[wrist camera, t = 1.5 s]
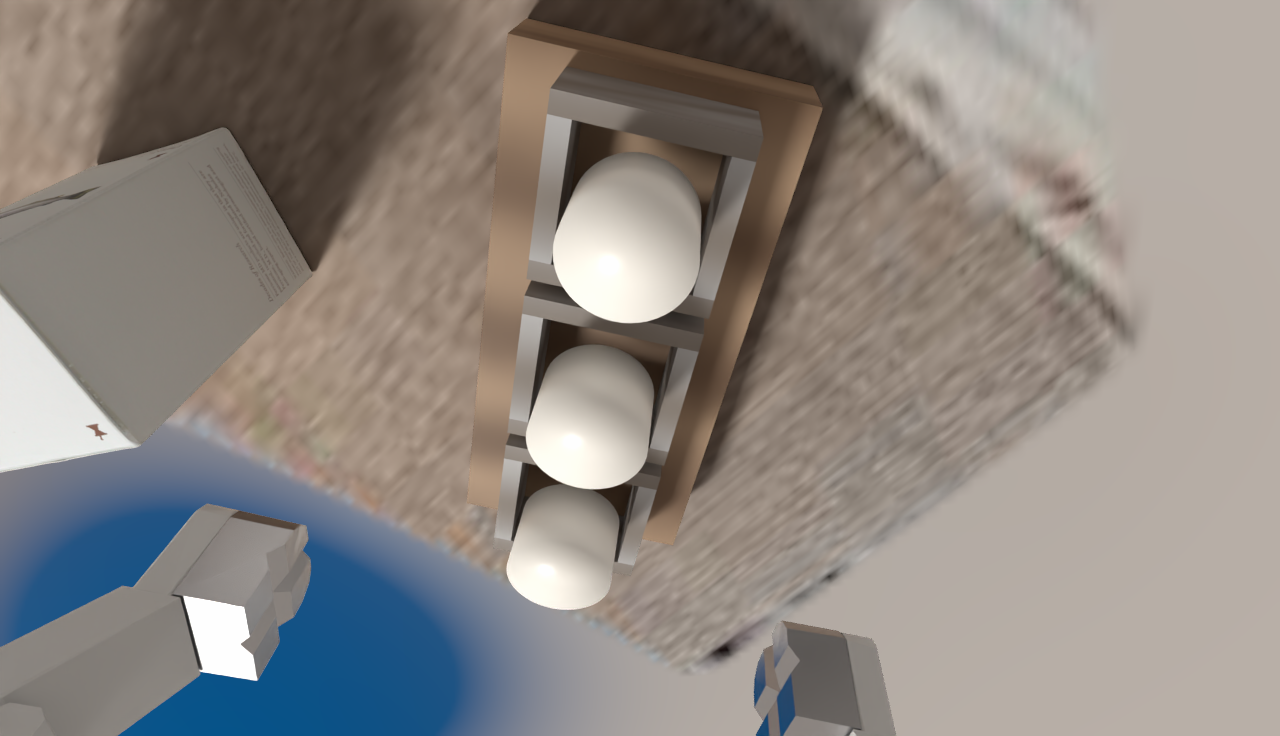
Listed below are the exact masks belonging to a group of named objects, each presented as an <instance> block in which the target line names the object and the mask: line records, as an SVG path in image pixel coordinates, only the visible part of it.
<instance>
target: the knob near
mask: <svg viewBox="0 0 1280 736" xmlns="http://www.w3.org/2000/svg"><path fill="white" fill-rule="evenodd" d="M700 243H701V206H700V202H699V198H698V195H697V193H696V190H695V189H694V187H693V185H692V183H691V182H690V180H689V179H688V178H687V176H686V175H685V174H684V173H683V172H682V171H681V170H680V169H679V168H677V167H676V166H675V165H673V164H672V163H670V162H669V161H667V160H665V159H663V158H661V157H658V156H655V155H652V154H648V153H642V152H625V153H619V154H615V155H612V156H609V157H606V158H604V159H602V160H601V161H599V162H597V163H596V164H594V165H593V166H592V167H590V168H589V169H588V170H587V171H586V172H585V173H584V175H583V176H582V177H581V179H580V180H579V182H578V184H577V186H576V187H575V190H574V192H573V194H572V197H571V199H570V201H569V204H568V206H567V208H566V210H565V213H564V215H563V217H562V220H561V222H560V224H559V227H558V229H557V232H556V234H555V238H554V243H553V262H554V267H555V271H556V273H557V276H558V279H559V281H560V283H561V284H562V286H563V288H564V289H565V291H566V292H567V293H568V295H569V296H570V297H571V298H572V299H573V300H574V301H575V302H576V303H577V304H578V305H580V306H581V307H582V308H584V309H585V310H587V311H588V312H590V313H592V314H594V315H596V316H598V317H601V318H603V319H606V320H610V321H614V322H620V323H640V322H646V321H650V320H654V319H657V318H659V317H661V316H664V315H666V314H667V313H669V312H671V311H672V310H674V309H675V308H676V307H678V306H679V305H680V304H681V303H682V302H683V301H684V300H685V299H686V297H687V296H688V295H689V293H690V292H691V290H692V288H693V286H694V284H695V282H696V279H697V276H698V272H699V266H700Z"/></svg>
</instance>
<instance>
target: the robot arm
mask: <svg viewBox="0 0 1280 736" xmlns="http://www.w3.org/2000/svg"><path fill="white" fill-rule="evenodd" d="M307 541H308V534H307V528H306V526H305V525H300V524H296V523H292V522H287V521H283V520H278V519H274V518H270V517H265V516H260V515H256V514H252V513H248V512H243V511H239V510H235V509H230V508H225V507H220V506H215V505H211V504H206V505H205V506H203V507H202V508H200V509H199V510H197V511H196V512H195V513H194V514H193V515H192V516H191V518H190V519H189V520H188V521H187V522H186V524H185V525H184V526H183V527H182V528H181V530H180V531H179V532H178V533H177V535H176V536H175V537H174V538H173V539H172V541H171V542H170V543H169V544H168V546H167V547H166V548H165V549H164V551H163V552H162V553H161V554H160V555H159V556H158V558H157V559H156V560H155V561H154V563H153V564H152V565H151V566H150V567H149V569H148V570H147V571H146V572H145V574H144V575H143V576H142V577H141V578H140V580H139V581H138V582H137V583H136V585H135V586H134V587H133V588H132V587H126V586H122V587H120V588H118V589H116V590H114V591H112V592H110V593H108V594H106V595H104V596H102V597H100V598H98V599H96V600H94V601H92V602H90V603H88V604H86V605H84V606H82V607H80V608H78V609H76V610H74V611H72V612H70V613H68V614H66V615H64V616H62V617H60V618H58V619H56V620H54V621H52V622H50V623H48V624H46V625H44V626H42V627H40V628H38V629H36V630H34V631H33V632H30V633H28V634H26V635H24V636H22V637H20V638H18V639H16V640H14V641H12V642H10V643H9V644H6V645H4V646H2V647H0V736H117V735H119V734H120V733H122V732H123V731H124V730H126V729H127V728H128V727H130V726H131V725H133V724H134V723H135V722H136V721H138V720H139V719H141V718H142V717H143V716H145V715H146V714H148V713H149V712H150V711H152V710H153V709H154V708H156V707H157V706H158V705H159V704H161V703H162V702H164V701H165V700H167V699H168V698H169V697H171V696H172V695H173V694H175V693H176V692H178V691H179V690H180V689H181V688H183V687H184V686H186V685H187V684H188V683H190V682H191V681H193V680H194V679H195V678H197V677H198V676H199V675H200V671H201V672H207V673H213V674H220V675H225V676H232V677H238V678H244V679H250V680H256V681H257V680H258V679H259V677H260V675H261V673H262V672H263V670H264V668H265V666H266V665H267V663H268V661H269V659H270V658H271V656H272V654H273V653H274V651H275V649H276V647H277V645H278V644H279V634H278V626H280V625H281V624H283V623H285V622H286V621H288V620H289V619H291V618H293V617H294V616H295V614H296V612H297V610H298V608H299V606H300V605H301V603H302V601H303V598H304V595H305V592H306V590H307V587H308V584H309V579H310V572H311V563H310V558H309V557H308V556H307V555H306V554H305V553H304V551H303V548H304V546H305V545H306V543H307ZM772 639H773V645H772V646H770V647H768V648H766V649H764V650H763V652H762V654H761V657H760V659H759V661H758V665H757V669H756V674H755V679H754V708H755V709H756V711H757V712H758V714H759V715H760V717H761V718H762V720H763V722H762V724H761V726H760V728H759V730H758V731H757V733H756V736H896V732H895V728H894V724H893V719H892V714H891V710H890V705H889V701H888V696H887V692H886V687H885V683H884V678H883V674H882V669H881V665H880V660H879V656H878V651H877V647H876V644H875V643H874V641H873V640H872V639H870V638H867V637H861V636H856V635H851V634H846V633H840V632H839V631H834V630H829V629H824V628H819V627H813V626H808V625H803V624H797V623H792V622H786V621H781V622H779V623H778V624H777V625H776V627H775V629H774V631H773V633H772Z"/></svg>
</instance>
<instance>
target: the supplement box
mask: <svg viewBox="0 0 1280 736" xmlns="http://www.w3.org/2000/svg"><path fill="white" fill-rule="evenodd" d="M310 277H312V271H311V270H310V268H309V266H308V264H307V262H306V261H305V259H304V257H303V255H302V254H301V252H300V250H299V248H298V247H297V245H296V243H295V241H294V240H293V238H292V236H291V235H290V233H289V231H288V229H287V228H286V226H285V224H284V222H283V220H282V219H281V217H280V215H279V214H278V212H277V210H276V209H275V207H274V205H273V203H272V201H271V200H270V198H269V196H268V194H267V193H266V191H265V189H264V188H263V186H262V184H261V183H260V181H259V179H258V178H257V176H256V174H255V172H254V171H253V169H252V167H251V166H250V164H249V162H248V161H247V159H246V157H245V155H244V153H243V151H242V150H241V148H240V147H239V145H238V143H237V142H236V140H235V139H234V137H233V136H232V134H231V133H230V131H229V130H228V129H227V128H223V127H222V128H219V129H216V130H213V131H211V132H208V133H205V134H203V135H200V136H197V137H194V138H191V139H188V140H185V141H182V142H179V143H176V144H173V145H169V146H166V147H163V148H159V149H156V150H153V151H149V152H146V153H142V154H139V155H135V156H132V157H129V158H125V159H121V160H117V161H113V162H109V163H105V164H101V165H97V166H93V167H90V168H88V169H86V170H84V171H82V172H80V173H78V174H76V175H74V176H71V177H69V178H67V179H65V180H63V181H61V182H58V183H56V184H54V185H52V186H50V187H48V188H46V189H43V190H41V191H39V192H37V193H34V194H32V195H30V196H28V197H26V198H24V199H22V200H20V201H17V202H15V203H13V204H11V205H9V206H7V207H4V208H2V209H0V472H5V471H10V470H15V469H21V468H26V467H32V466H37V465H42V464H48V463H54V462H61V461H66V460H70V459H73V458H79V457H84V456H89V455H94V454H100V453H105V452H111V451H116V450H122V449H127V448H135V447H139V446H140V445H141V444H142V443H143V442H144V441H145V440H147V439H148V438H149V437H150V435H152V434H153V433H154V432H155V431H156V430H157V429H158V428H159V427H160V426H161V425H162V424H163V423H164V422H165V421H166V420H167V419H168V418H169V417H170V416H171V415H172V414H173V413H174V412H175V411H176V410H177V409H178V408H179V407H180V406H181V405H182V404H183V403H184V402H185V401H186V400H187V399H188V398H189V397H190V396H191V395H192V394H193V393H194V392H195V391H196V390H197V389H198V388H199V387H200V386H201V385H202V384H203V383H204V382H205V381H206V380H207V379H208V378H209V377H210V376H211V375H212V374H213V373H214V372H215V371H216V370H217V369H218V368H219V367H220V366H221V365H222V364H223V363H224V362H225V361H226V360H227V359H228V358H229V357H230V356H231V355H232V354H233V353H234V352H235V351H236V350H237V349H238V348H239V347H240V346H241V345H242V344H243V343H244V342H245V341H246V340H247V339H248V338H249V337H250V336H251V335H252V334H253V333H254V332H255V331H256V330H257V329H258V328H260V327H261V326H262V325H263V324H264V323H265V322H266V321H267V320H268V319H269V318H270V317H271V315H273V314H274V313H275V312H276V311H277V310H278V309H279V308H280V307H281V306H282V305H283V304H284V303H285V302H286V301H287V300H288V299H289V298H290V297H291V296H292V295H293V294H294V293H295V292H296V291H297V290H298V289H299V288H300V287H301V286H302V285H303V284H304V283H305V282H306V281H307V280H308V279H309V278H310Z"/></svg>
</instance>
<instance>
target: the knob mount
mask: <svg viewBox="0 0 1280 736" xmlns="http://www.w3.org/2000/svg"><path fill="white" fill-rule="evenodd" d="M822 110H823V106H822V104H821V102H820V100H819V98H818V95H817V93H816V91H815V89H814V87H813V86H811V85H807V84H802V83H798V82H794V81H790V80H786V79H781V78H777V77H773V76H769V75H764V74H760V73H756V72H752V71H747V70H743V69H739V68H735V67H731V66H726V65H722V64H718V63H714V62H709V61H705V60H701V59H697V58H693V57H688V56H684V55H680V54H676V53H671V52H667V51H663V50H659V49H655V48H650V47H646V46H642V45H638V44H633V43H629V42H625V41H621V40H616V39H612V38H608V37H604V36H600V35H595V34H591V33H587V32H583V31H578V30H574V29H570V28H566V27H562V26H557V25H553V24H549V23H545V22H540V21H536V20H532V19H528V18H526V19H525V20H524V21H523V22H521V23H520V24H519V25H518V26H516V27H515V28H514V29H513V30H511V31H510V32H509V33H508V36H507V48H506V59H505V71H504V82H503V94H502V105H501V117H500V128H499V139H498V151H497V162H496V174H495V185H494V197H493V208H492V220H491V231H490V243H489V254H488V266H487V277H486V289H485V300H484V311H483V323H482V334H481V346H480V357H479V369H478V380H477V392H476V403H475V415H474V426H473V438H472V449H471V460H470V472H469V483H468V495H467V503H469V504H474V505H479V506H483V507H488V508H493V509H498V512H497V520H496V528H495V536H494V544H493V548H494V549H499V550H504V551H509V552H511V550H512V546H513V543H514V540H515V536H516V533H517V529H518V526H519V523H520V519H521V516H522V513H523V509H524V506H525V504H526V501H527V500H528V499H529V497H530V496H531V495H532V494H534V493H535V492H536V491H538V490H540V489H542V488H545V487H548V486H552V485H558V484H564V483H562V482H560V481H557V480H555V479H554V478H552V477H550V476H549V475H548V474H546V473H545V472H544V471H543V470H542V469H541V468H540V467H539V466H538V465H537V464H536V463H535V462H534V460H533V459H532V457H531V455H530V453H529V451H528V448H527V444H526V431H527V426H528V423H529V420H530V417H531V414H532V411H533V408H534V405H535V402H536V399H537V396H538V393H539V390H540V387H541V384H542V381H543V378H544V375H545V373H546V370H547V368H548V367H549V365H550V363H551V362H552V361H553V360H554V359H555V358H556V357H557V356H558V355H560V354H561V353H563V352H565V351H566V350H569V349H571V348H574V347H577V346H582V345H591V344H595V345H605V346H610V347H614V348H617V349H619V350H622V351H624V352H626V353H628V354H629V355H631V356H632V357H634V358H635V359H636V360H637V361H639V362H640V363H641V364H642V365H643V367H644V368H645V369H646V371H647V372H648V374H649V376H650V378H651V380H652V383H653V387H654V401H653V410H652V419H651V428H650V436H649V445H648V453H647V458H646V460H645V463H644V465H643V466H642V468H641V469H640V471H639V472H638V473H637V474H636V475H635V476H634V477H632V478H631V479H629V480H628V481H626V482H624V483H622V484H620V485H617V486H614V487H610V488H604V489H591V490H593V491H595V492H597V493H599V494H601V495H602V496H603V497H605V498H606V499H607V500H608V501H609V502H610V503H611V504H612V505H613V506H614V508H615V510H616V511H617V514H618V517H619V531H618V537H617V544H616V551H615V558H614V565H613V573H618V574H623V575H628V576H631V573H632V570H633V567H634V564H635V560H636V557H637V554H638V550H639V547H640V544H641V540H642V539H645V540H650V541H655V542H659V543H664V544H669V545H673V543H674V540H675V538H676V535H677V532H678V529H679V526H680V523H681V520H682V517H683V514H684V511H685V508H686V505H687V503H688V500H689V497H690V494H691V491H692V488H693V485H694V482H695V479H696V476H697V473H698V471H699V468H700V465H701V462H702V459H703V456H704V453H705V450H706V447H707V444H708V441H709V439H710V436H711V433H712V430H713V427H714V424H715V421H716V418H717V415H718V412H719V409H720V407H721V404H722V401H723V398H724V395H725V392H726V389H727V386H728V383H729V380H730V377H731V374H732V372H733V369H734V366H735V363H736V360H737V357H738V354H739V351H740V348H741V345H742V342H743V340H744V337H745V334H746V331H747V328H748V325H749V322H750V319H751V316H752V313H753V310H754V308H755V305H756V302H757V299H758V296H759V293H760V290H761V287H762V284H763V281H764V278H765V275H766V273H767V270H768V267H769V264H770V261H771V258H772V255H773V252H774V249H775V246H776V243H777V241H778V238H779V235H780V232H781V229H782V226H783V223H784V220H785V217H786V214H787V211H788V209H789V206H790V203H791V200H792V197H793V194H794V191H795V188H796V185H797V182H798V179H799V176H800V174H801V171H802V168H803V165H804V162H805V159H806V156H807V153H808V150H809V147H810V144H811V142H812V139H813V136H814V133H815V130H816V127H817V124H818V121H819V118H820V115H821V112H822ZM625 152H642V153H648V154H652V155H655V156H658V157H661V158H663V159H665V160H667V161H669V162H670V163H672V164H673V165H675V166H676V167H677V168H679V169H680V170H681V171H682V172H683V173H684V174H685V175H686V176H687V178H688V179H689V180H690V182H691V183H692V185H693V187H694V189H695V190H696V193H697V195H698V198H699V202H700V206H701V243H700V266H699V272H698V276H697V279H696V282H695V284H694V286H693V288H692V290H691V292H690V293H689V295H688V296H687V297H686V299H685V300H684V301H683V302H682V303H681V304H680V305H679V306H678V307H676V308H675V309H674V310H672V311H671V312H669V313H667V314H666V315H664V316H661V317H659V318H657V319H654V320H650V321H646V322H640V323H620V322H614V321H610V320H606V319H603V318H601V317H598V316H596V315H594V314H592V313H590V312H588V311H587V310H585V309H584V308H582V307H581V306H580V305H578V304H577V303H576V302H575V301H574V300H573V299H572V298H571V297H570V296H569V295H568V293H567V292H566V291H565V289H564V288H563V286H562V284H561V283H560V281H559V279H558V276H557V273H556V271H555V267H554V262H553V243H554V238H555V234H556V232H557V229H558V227H559V224H560V222H561V220H562V217H563V215H564V213H565V210H566V208H567V206H568V204H569V201H570V199H571V197H572V194H573V192H574V190H575V187H576V186H577V184H578V182H579V180H580V179H581V177H582V176H583V175H584V173H585V172H586V171H587V170H588V169H589V168H590V167H592V166H593V165H594V164H596V163H597V162H599V161H601V160H602V159H604V158H606V157H609V156H612V155H615V154H619V153H625Z"/></svg>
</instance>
